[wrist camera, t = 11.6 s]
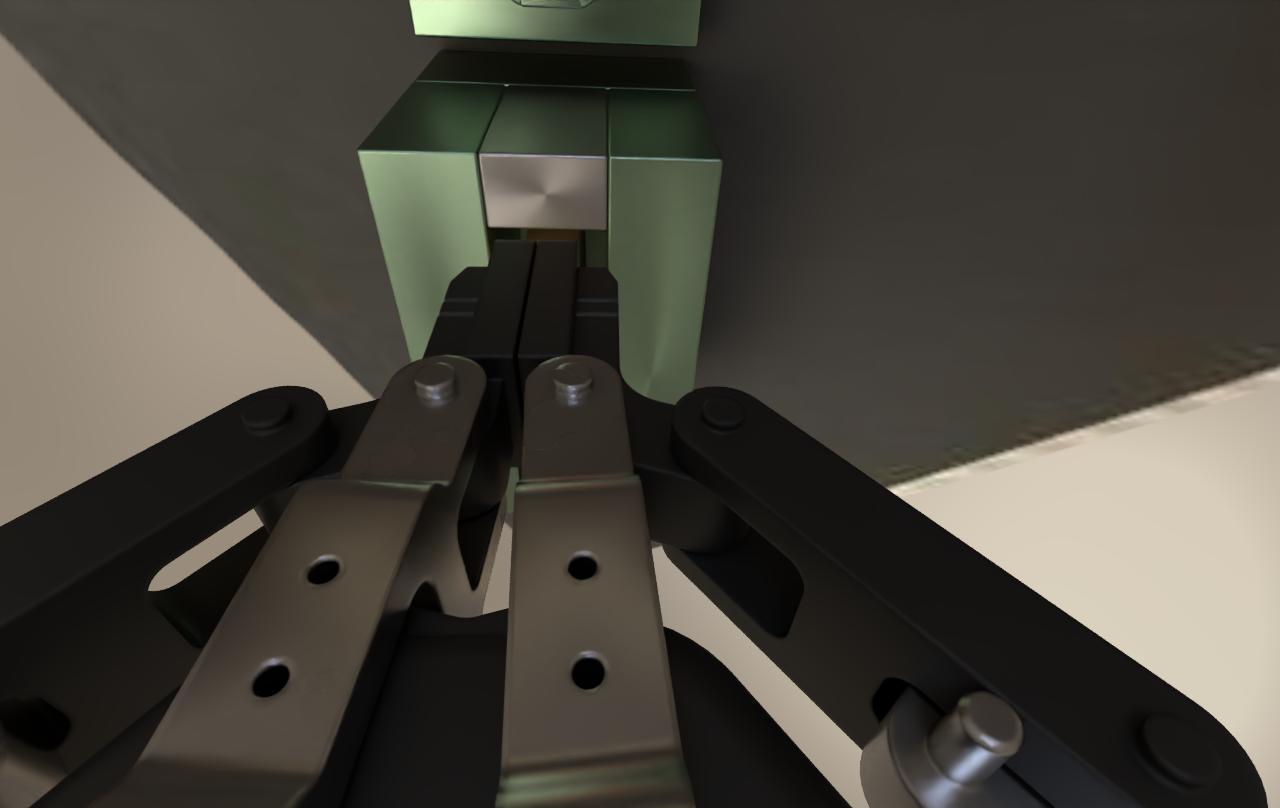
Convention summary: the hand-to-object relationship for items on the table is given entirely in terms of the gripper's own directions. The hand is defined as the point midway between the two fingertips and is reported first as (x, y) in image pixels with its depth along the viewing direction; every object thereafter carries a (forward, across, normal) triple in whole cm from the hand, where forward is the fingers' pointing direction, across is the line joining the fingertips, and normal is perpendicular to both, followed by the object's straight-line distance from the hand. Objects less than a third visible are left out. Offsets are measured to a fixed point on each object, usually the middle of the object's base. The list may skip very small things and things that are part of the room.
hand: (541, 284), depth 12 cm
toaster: (+15, 0, +6) cm, 16 cm away
